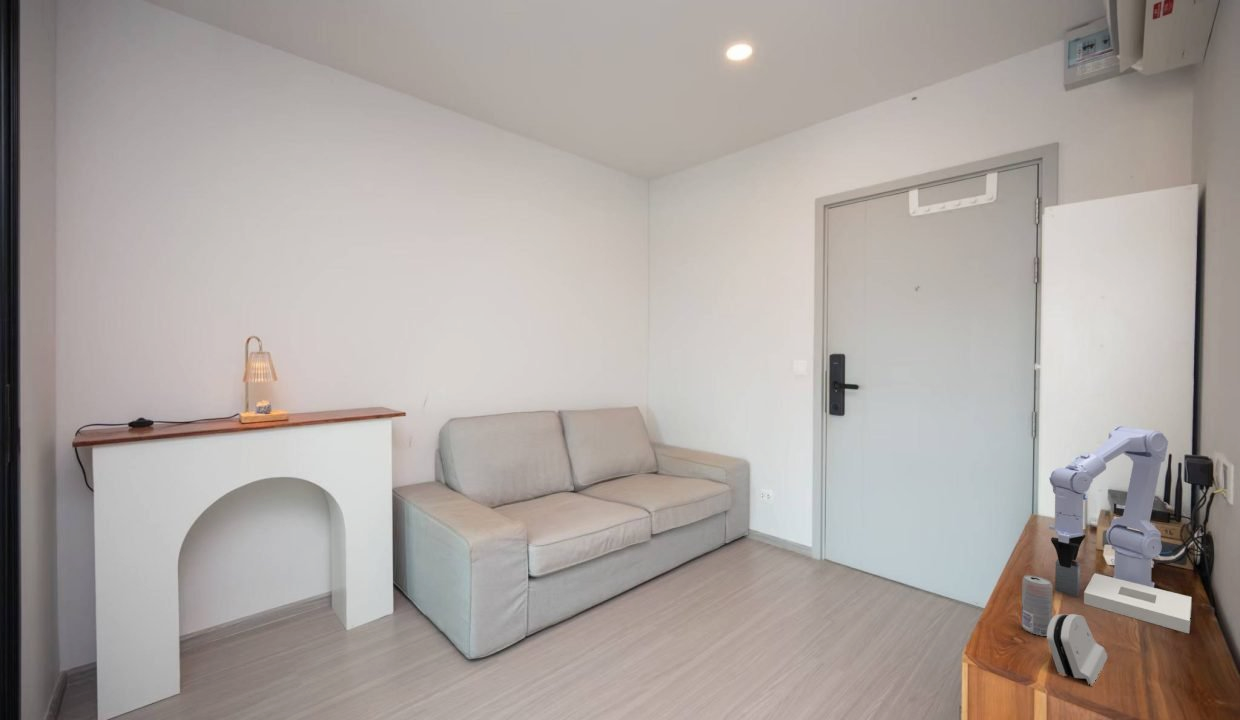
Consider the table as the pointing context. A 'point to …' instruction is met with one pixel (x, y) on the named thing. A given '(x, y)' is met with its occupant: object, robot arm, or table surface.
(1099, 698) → the table surface
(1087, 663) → the grey black angular block
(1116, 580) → the hole board
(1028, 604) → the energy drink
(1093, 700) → the table surface
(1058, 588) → the square peg
